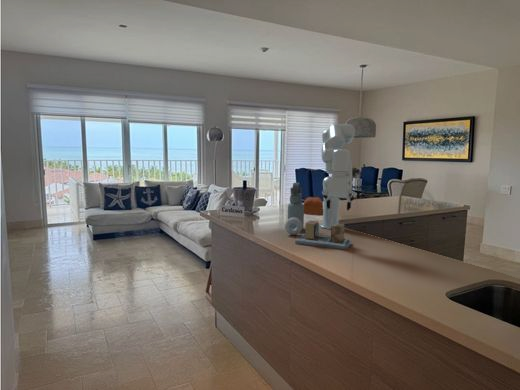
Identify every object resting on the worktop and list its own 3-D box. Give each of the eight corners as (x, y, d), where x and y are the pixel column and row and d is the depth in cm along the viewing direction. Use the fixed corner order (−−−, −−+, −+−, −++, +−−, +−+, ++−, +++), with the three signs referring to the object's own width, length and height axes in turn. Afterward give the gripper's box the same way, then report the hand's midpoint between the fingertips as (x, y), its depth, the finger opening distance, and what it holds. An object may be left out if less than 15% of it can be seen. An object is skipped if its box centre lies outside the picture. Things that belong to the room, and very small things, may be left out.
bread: (301, 214, 263) (302, 200, 262) (304, 208, 289) (304, 196, 288) (322, 215, 260) (323, 201, 259) (323, 209, 286) (323, 196, 285)
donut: (284, 235, 196) (285, 218, 194) (284, 234, 199) (284, 216, 198) (302, 235, 196) (303, 218, 195) (301, 234, 199) (302, 217, 198)
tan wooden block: (330, 243, 174) (330, 225, 173) (334, 239, 181) (334, 222, 180) (340, 244, 172) (341, 226, 170) (343, 241, 179) (344, 223, 178)
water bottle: (302, 231, 207) (303, 184, 203) (286, 230, 209) (287, 183, 205) (304, 227, 217) (305, 182, 213) (288, 226, 219) (289, 182, 215)
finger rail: (302, 238, 190) (303, 219, 189) (351, 243, 180) (352, 223, 178) (295, 243, 179) (295, 223, 178) (346, 249, 168) (347, 228, 167)
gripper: (359, 175, 172) (357, 209, 174) (324, 173, 179) (323, 206, 181) (356, 176, 165) (354, 211, 168) (320, 174, 172) (319, 208, 175)
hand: (338, 209), depth 174 cm, fingers open, 9 cm apart
